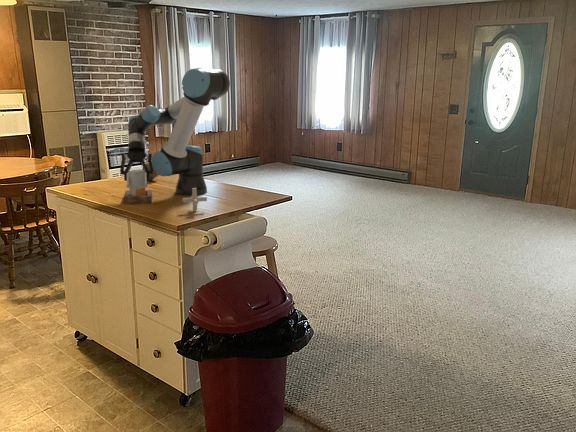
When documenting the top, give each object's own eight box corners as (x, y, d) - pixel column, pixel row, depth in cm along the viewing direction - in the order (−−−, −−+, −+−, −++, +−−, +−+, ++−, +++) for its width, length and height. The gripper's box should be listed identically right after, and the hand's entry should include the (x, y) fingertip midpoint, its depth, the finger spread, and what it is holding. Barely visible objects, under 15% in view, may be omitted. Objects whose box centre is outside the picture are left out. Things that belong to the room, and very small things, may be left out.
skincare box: (135, 198, 227) (133, 172, 224) (129, 196, 229) (127, 170, 226) (146, 195, 232) (144, 170, 228) (140, 194, 234) (139, 168, 231)
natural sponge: (162, 179, 277) (161, 161, 274) (156, 182, 268) (155, 164, 266) (146, 178, 278) (145, 160, 275) (140, 181, 269) (138, 163, 267)
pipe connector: (208, 213, 211) (207, 190, 208) (184, 214, 208) (183, 191, 206) (205, 207, 220) (204, 185, 218) (182, 208, 218) (181, 186, 215)
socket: (152, 196, 239) (152, 189, 238) (151, 203, 226) (151, 196, 225) (126, 196, 236) (125, 190, 235) (123, 204, 223) (123, 197, 222)
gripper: (158, 149, 242) (160, 190, 231) (115, 150, 237) (114, 191, 227) (158, 140, 236) (159, 181, 225) (113, 140, 231) (112, 182, 220)
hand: (136, 186), depth 226 cm, fingers closed on skincare box, 7 cm apart
